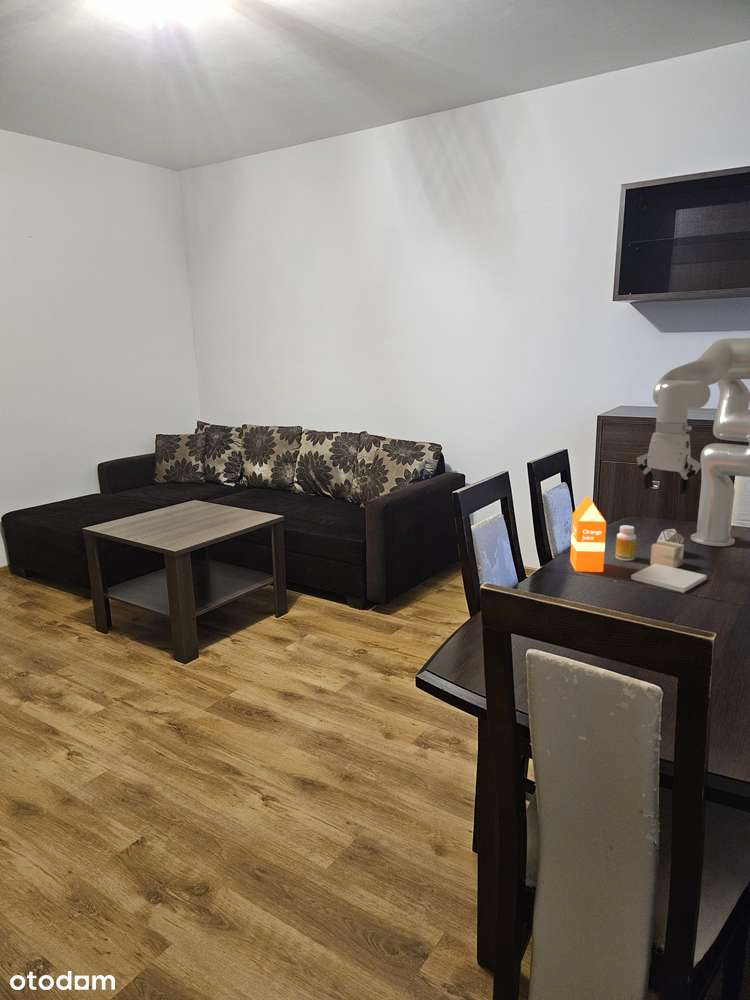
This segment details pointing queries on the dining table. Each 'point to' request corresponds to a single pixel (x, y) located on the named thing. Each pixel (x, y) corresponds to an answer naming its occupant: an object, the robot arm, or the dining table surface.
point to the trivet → (669, 577)
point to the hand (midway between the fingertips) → (665, 490)
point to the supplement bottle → (626, 543)
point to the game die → (671, 536)
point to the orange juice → (588, 538)
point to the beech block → (667, 554)
